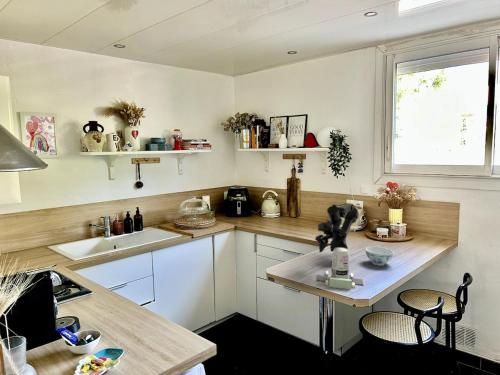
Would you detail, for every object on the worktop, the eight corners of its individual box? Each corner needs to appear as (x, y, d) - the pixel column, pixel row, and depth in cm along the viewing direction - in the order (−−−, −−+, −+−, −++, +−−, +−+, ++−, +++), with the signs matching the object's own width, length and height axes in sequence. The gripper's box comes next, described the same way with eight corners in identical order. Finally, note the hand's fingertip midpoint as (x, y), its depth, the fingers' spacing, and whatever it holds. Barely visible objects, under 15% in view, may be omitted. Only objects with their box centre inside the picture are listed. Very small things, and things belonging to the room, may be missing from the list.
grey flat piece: (317, 272, 195) (318, 264, 194) (361, 276, 190) (361, 268, 190) (316, 285, 177) (316, 277, 176) (364, 290, 172) (365, 282, 172)
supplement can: (335, 274, 192) (337, 246, 190) (350, 278, 187) (352, 249, 185) (328, 278, 186) (329, 249, 184) (343, 282, 181) (345, 253, 179)
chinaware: (359, 262, 211) (360, 249, 210) (373, 257, 221) (374, 245, 220) (383, 270, 200) (384, 256, 199) (397, 264, 209) (398, 251, 208)
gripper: (312, 222, 204) (303, 245, 196) (335, 212, 189) (326, 237, 181) (327, 233, 207) (318, 256, 198) (350, 224, 192) (343, 249, 183)
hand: (326, 250), depth 190 cm, fingers open, 9 cm apart
